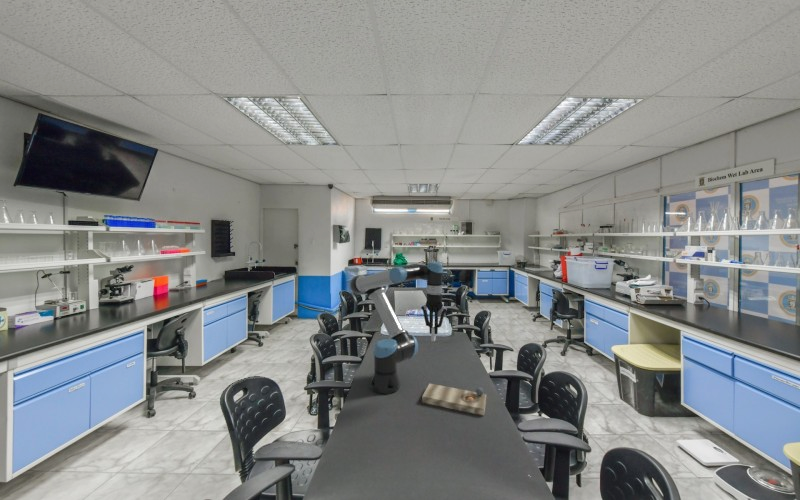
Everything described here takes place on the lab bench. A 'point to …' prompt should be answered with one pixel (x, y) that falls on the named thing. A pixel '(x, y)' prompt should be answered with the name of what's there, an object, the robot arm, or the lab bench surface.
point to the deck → (454, 399)
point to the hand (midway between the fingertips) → (433, 340)
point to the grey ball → (479, 391)
